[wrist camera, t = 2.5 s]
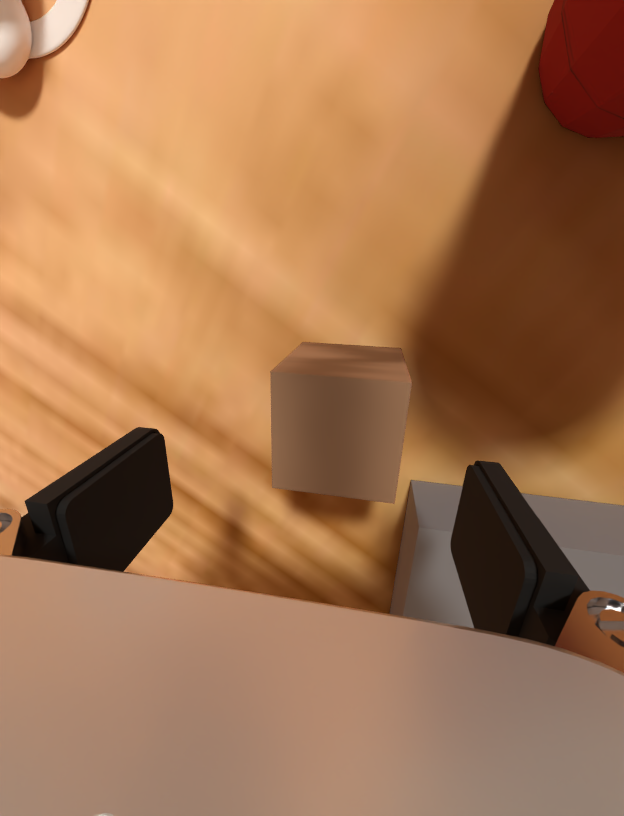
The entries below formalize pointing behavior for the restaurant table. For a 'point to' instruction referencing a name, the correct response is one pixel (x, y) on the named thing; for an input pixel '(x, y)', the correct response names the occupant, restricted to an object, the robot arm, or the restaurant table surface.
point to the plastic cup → (585, 66)
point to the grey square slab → (435, 569)
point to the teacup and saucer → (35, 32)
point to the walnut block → (339, 420)
